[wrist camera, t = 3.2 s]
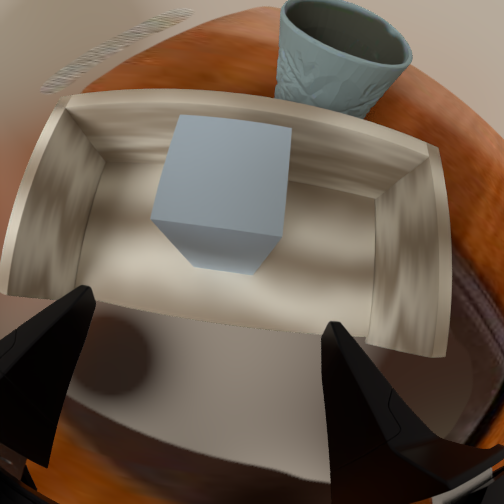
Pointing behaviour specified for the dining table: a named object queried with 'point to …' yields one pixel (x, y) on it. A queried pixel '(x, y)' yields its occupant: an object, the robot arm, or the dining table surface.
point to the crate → (284, 253)
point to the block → (224, 191)
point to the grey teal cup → (337, 56)
